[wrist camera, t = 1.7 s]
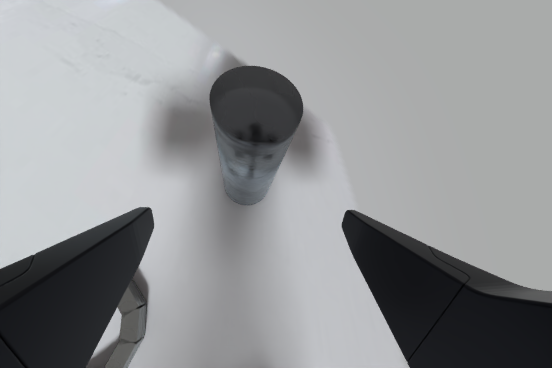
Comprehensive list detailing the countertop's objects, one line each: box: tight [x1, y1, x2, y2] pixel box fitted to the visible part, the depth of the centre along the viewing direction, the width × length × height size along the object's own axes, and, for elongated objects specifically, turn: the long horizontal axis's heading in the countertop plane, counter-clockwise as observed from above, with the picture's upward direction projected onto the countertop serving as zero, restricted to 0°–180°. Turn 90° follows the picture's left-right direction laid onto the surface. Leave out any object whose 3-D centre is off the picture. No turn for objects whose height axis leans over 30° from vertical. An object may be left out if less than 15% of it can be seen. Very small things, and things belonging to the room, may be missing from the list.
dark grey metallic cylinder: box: [210, 66, 303, 205], centre depth 17 cm, size 5×5×13 cm
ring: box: [104, 280, 147, 368], centre depth 15 cm, size 9×9×1 cm
